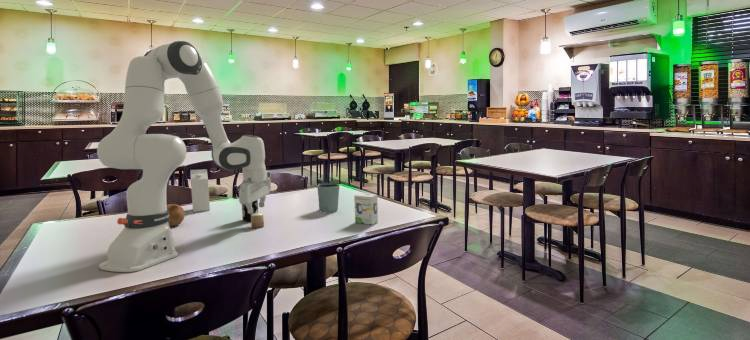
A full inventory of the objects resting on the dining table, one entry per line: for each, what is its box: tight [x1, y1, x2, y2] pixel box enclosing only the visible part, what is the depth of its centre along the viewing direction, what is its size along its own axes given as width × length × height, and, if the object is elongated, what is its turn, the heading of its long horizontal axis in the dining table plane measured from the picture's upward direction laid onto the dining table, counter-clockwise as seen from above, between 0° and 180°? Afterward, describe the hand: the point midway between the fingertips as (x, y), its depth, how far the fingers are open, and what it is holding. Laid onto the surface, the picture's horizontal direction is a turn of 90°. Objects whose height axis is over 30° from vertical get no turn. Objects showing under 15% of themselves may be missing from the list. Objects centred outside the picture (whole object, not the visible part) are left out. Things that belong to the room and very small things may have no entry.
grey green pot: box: [316, 183, 340, 213], centre depth 196 cm, size 10×10×12 cm
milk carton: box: [190, 168, 211, 213], centre depth 197 cm, size 7×7×19 cm
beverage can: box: [241, 199, 259, 223], centre depth 179 cm, size 7×7×12 cm
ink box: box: [353, 192, 379, 226], centre depth 174 cm, size 9×5×12 cm, turn 62°
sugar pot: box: [250, 212, 265, 230], centre depth 169 cm, size 5×5×5 cm
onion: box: [167, 203, 186, 227], centre depth 172 cm, size 10×9×10 cm
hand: (256, 209), depth 170 cm, fingers open, 8 cm apart
